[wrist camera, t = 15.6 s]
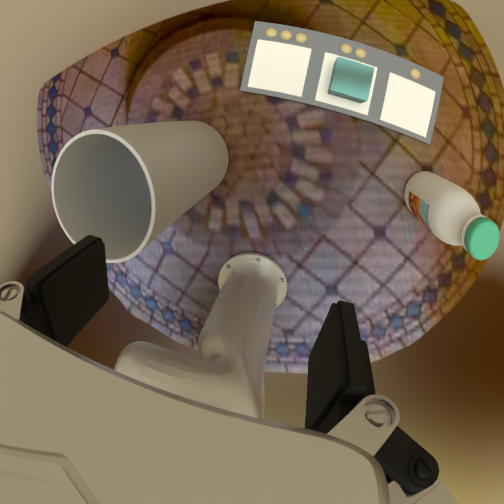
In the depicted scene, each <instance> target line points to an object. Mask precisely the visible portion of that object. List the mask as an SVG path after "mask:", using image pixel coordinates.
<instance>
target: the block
mask: <svg viewBox="0 0 504 504" xmlns="http://www.w3.org/2000/svg"><path fill="white" fill-rule="evenodd" d="M373 73H374V68H373V67H371V66H368V65H365V64H361V63H358V62H355V61H352V60H348V59H345V58H342V57H337V59H336V61H335V62H334V65H333V70H332V75H331V79H330V84H329V89H328V93H327V94H330V95H334V96H337V97H341V98H344V99H347V100H351V101H354V102H357V103H363V102H367V101H368V97H369V92H370V87H371V83H372V78H373Z"/></svg>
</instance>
